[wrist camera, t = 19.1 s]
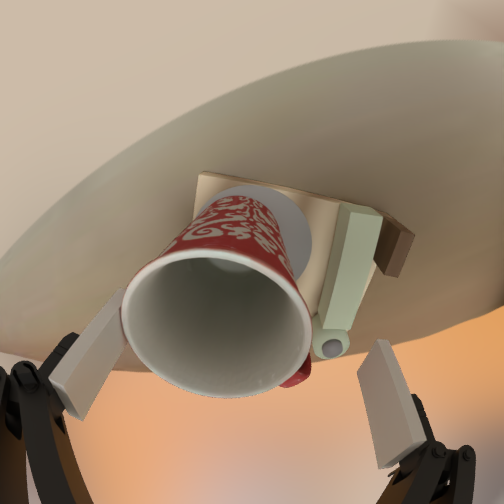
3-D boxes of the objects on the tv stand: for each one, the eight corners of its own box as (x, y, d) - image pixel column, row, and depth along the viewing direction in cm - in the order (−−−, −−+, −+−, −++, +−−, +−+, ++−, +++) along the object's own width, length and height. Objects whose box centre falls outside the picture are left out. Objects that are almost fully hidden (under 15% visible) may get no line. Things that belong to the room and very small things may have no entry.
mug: (165, 225, 24) (88, 317, 11) (245, 161, 21) (224, 201, 9) (251, 318, 28) (244, 435, 15) (327, 273, 25) (371, 386, 13)
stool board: (387, 213, 25) (415, 234, 19) (343, 324, 30) (355, 360, 25) (203, 171, 24) (185, 182, 19) (188, 297, 30) (174, 332, 24)
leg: (337, 337, 28) (344, 363, 25) (306, 335, 28) (310, 363, 25) (373, 206, 22) (391, 221, 18) (335, 201, 22) (349, 214, 18)
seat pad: (325, 200, 23) (326, 201, 22) (293, 305, 27) (294, 307, 27) (198, 174, 22) (198, 174, 22) (186, 284, 27) (185, 286, 26)
